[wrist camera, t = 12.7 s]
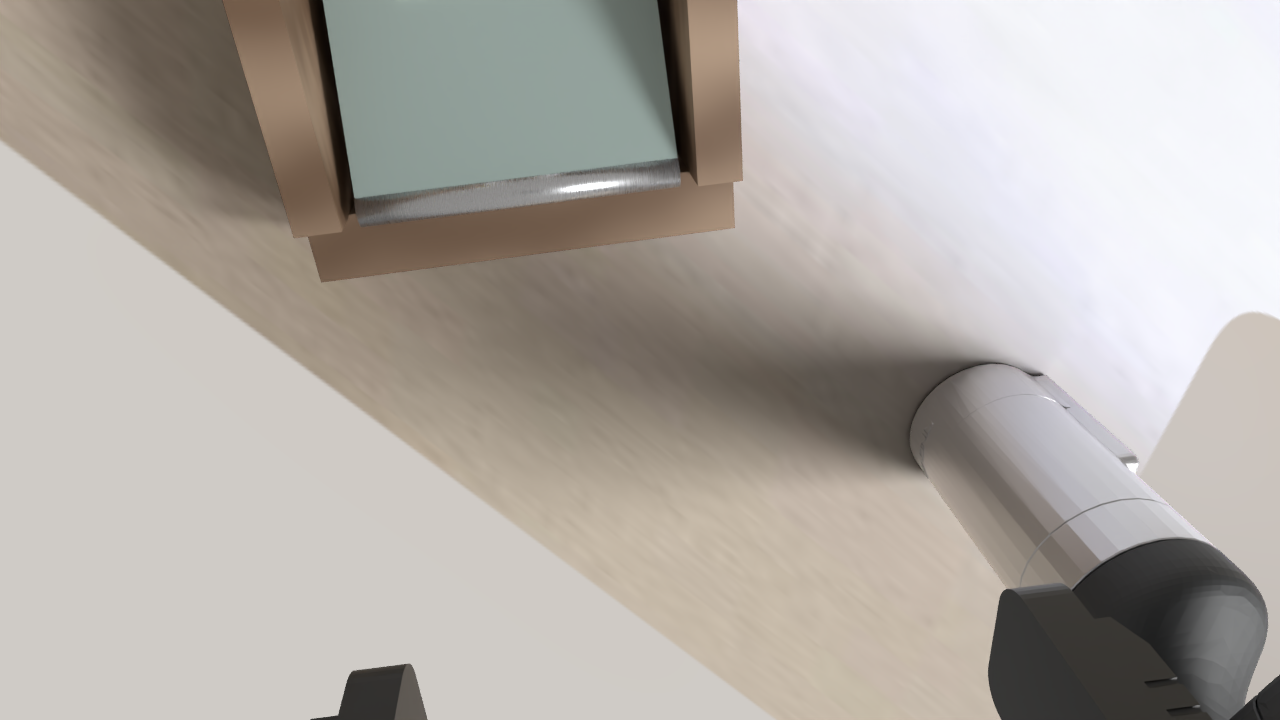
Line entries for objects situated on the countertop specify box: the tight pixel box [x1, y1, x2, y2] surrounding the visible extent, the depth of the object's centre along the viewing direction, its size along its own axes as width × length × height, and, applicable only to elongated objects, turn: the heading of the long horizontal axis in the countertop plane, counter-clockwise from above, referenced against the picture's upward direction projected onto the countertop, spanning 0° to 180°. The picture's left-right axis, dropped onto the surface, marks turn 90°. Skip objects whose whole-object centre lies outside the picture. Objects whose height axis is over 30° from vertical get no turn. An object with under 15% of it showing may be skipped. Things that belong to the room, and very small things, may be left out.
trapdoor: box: [323, 0, 681, 227], centre depth 37 cm, size 17×14×1 cm
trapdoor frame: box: [222, 0, 743, 282], centre depth 38 cm, size 20×19×9 cm
